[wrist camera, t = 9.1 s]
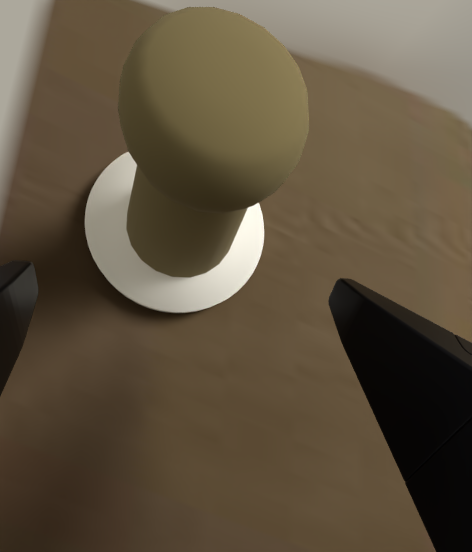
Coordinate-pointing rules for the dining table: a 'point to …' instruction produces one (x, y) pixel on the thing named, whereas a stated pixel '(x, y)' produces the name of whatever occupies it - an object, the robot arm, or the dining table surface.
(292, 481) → the dining table surface
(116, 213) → the coaster
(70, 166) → the dining table surface
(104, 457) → the dining table surface
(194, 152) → the cork
